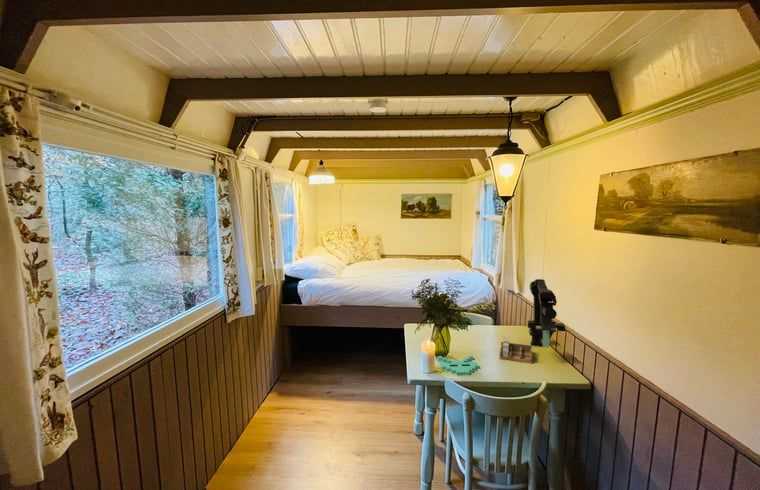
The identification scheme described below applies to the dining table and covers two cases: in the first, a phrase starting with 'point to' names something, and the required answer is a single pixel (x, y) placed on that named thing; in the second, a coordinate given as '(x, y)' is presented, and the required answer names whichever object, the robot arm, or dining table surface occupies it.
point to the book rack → (515, 352)
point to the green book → (545, 338)
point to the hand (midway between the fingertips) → (545, 340)
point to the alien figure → (459, 365)
